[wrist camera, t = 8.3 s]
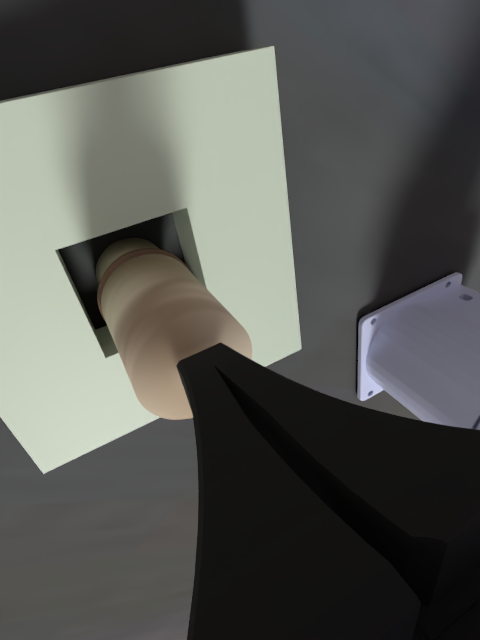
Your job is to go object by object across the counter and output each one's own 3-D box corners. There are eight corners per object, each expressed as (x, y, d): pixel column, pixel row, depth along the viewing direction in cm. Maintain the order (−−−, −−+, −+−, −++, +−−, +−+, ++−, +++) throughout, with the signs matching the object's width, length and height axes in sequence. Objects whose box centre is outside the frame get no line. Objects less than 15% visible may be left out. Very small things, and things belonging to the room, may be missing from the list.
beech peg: (159, 217, 17) (241, 290, 11) (182, 291, 20) (261, 385, 14) (71, 248, 16) (110, 347, 10) (107, 322, 19) (156, 440, 13)
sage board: (241, 50, 16) (274, 46, 14) (277, 327, 24) (301, 349, 22) (-171, 135, 12) (-206, 145, 10) (39, 436, 20) (43, 473, 18)
